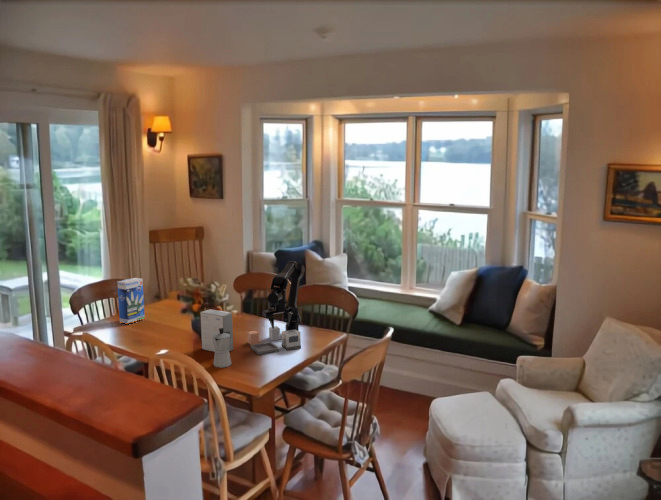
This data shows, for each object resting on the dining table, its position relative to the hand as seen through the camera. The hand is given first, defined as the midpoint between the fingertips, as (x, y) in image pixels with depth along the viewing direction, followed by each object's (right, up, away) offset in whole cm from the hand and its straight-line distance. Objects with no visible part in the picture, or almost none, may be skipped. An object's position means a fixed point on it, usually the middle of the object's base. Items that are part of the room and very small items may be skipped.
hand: (280, 327), depth 303 cm
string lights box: (-93, -2, +38) cm, 100 cm away
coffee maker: (-25, -14, -30) cm, 42 cm away
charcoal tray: (-7, -10, -11) cm, 17 cm away
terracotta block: (-15, -8, -1) cm, 17 cm away
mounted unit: (+6, -9, -8) cm, 14 cm away
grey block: (-4, -7, +7) cm, 11 cm away
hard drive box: (-32, -10, -11) cm, 35 cm away
